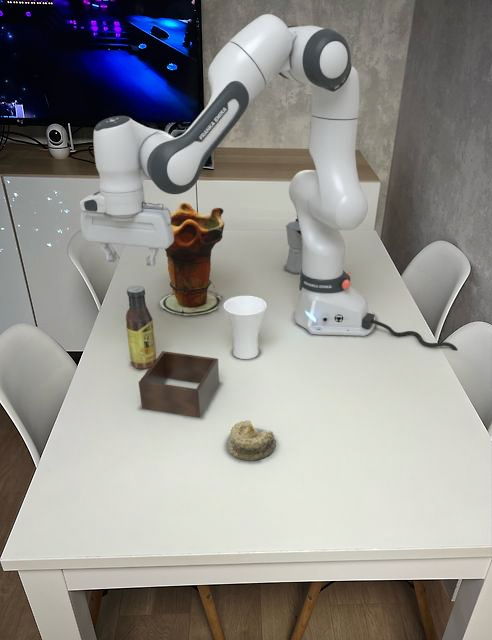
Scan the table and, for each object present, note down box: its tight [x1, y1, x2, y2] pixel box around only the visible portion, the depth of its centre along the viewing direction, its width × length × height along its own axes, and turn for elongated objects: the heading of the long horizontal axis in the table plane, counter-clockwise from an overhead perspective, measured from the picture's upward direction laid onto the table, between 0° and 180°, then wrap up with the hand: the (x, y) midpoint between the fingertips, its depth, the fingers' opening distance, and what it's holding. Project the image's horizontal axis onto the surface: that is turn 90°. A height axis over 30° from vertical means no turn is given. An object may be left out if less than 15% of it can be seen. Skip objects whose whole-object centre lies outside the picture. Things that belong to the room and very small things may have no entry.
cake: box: [226, 419, 277, 462], centre depth 123 cm, size 10×10×5 cm
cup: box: [223, 295, 268, 360], centre depth 151 cm, size 10×10×14 cm
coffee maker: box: [285, 216, 302, 275], centre depth 196 cm, size 15×9×18 cm, turn 179°
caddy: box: [138, 350, 220, 418], centre depth 137 cm, size 14×14×7 cm
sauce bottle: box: [125, 285, 157, 370], centre depth 145 cm, size 7×6×20 cm
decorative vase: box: [159, 201, 225, 317], centre depth 171 cm, size 21×23×28 cm
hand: (131, 262), depth 136 cm, fingers open, 8 cm apart
